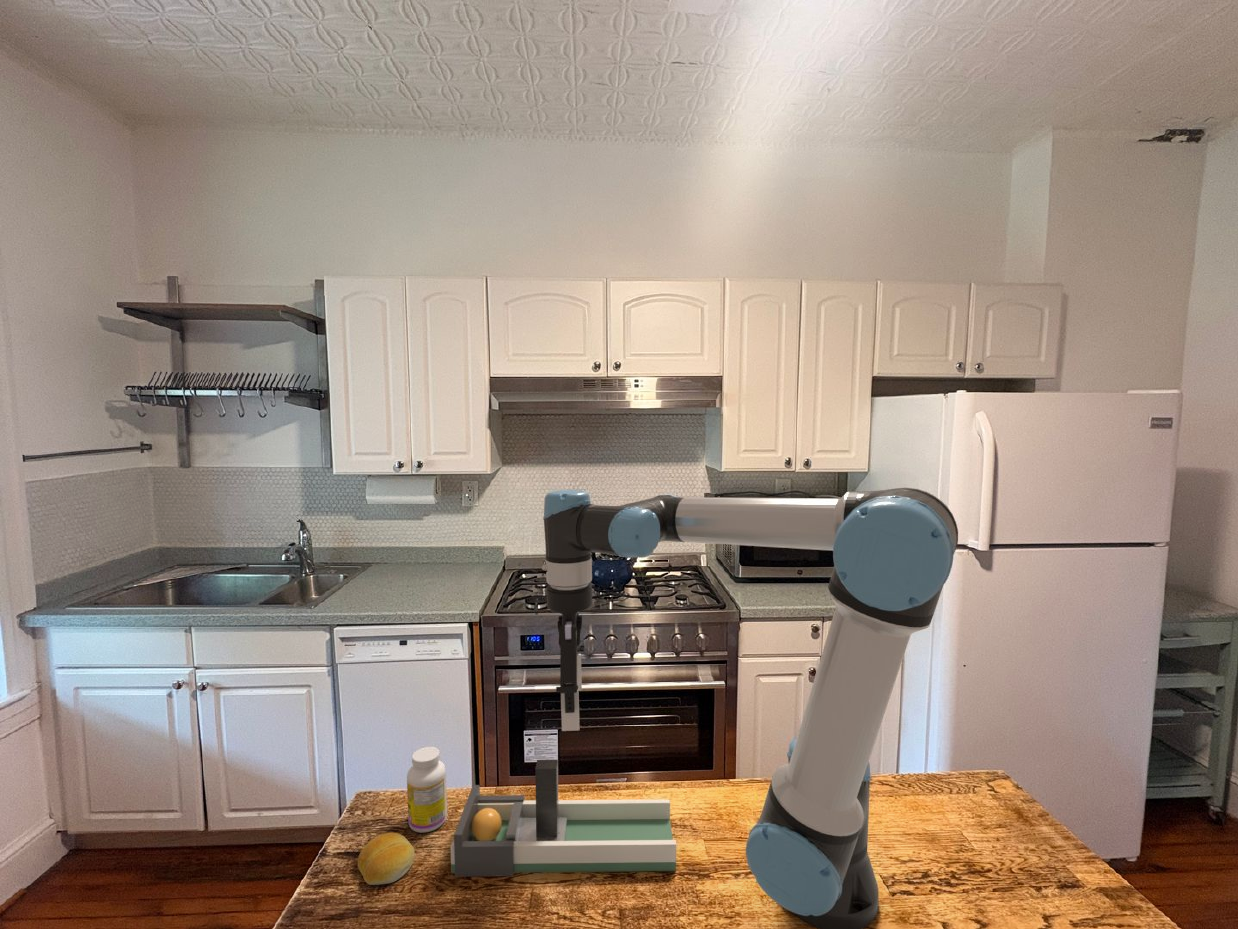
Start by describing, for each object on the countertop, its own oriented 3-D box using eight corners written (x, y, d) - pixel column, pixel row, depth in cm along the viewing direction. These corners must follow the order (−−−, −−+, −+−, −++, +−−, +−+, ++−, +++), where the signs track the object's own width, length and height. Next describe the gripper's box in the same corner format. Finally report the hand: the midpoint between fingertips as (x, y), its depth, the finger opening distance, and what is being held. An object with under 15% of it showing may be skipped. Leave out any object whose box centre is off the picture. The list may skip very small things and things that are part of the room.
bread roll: (371, 897, 88) (370, 872, 88) (352, 863, 95) (351, 840, 95) (424, 869, 94) (423, 846, 93) (402, 839, 100) (402, 817, 100)
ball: (495, 841, 100) (512, 819, 99) (479, 855, 95) (497, 832, 95) (475, 818, 101) (492, 796, 101) (459, 831, 97) (477, 808, 96)
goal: (524, 821, 104) (524, 784, 104) (513, 876, 92) (512, 834, 92) (473, 822, 104) (472, 785, 104) (455, 876, 92) (454, 835, 91)
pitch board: (669, 823, 104) (669, 799, 104) (676, 871, 93) (676, 844, 93) (468, 825, 104) (467, 801, 103) (451, 873, 93) (450, 846, 92)
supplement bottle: (415, 809, 108) (413, 743, 107) (451, 808, 108) (449, 742, 107) (403, 835, 101) (400, 765, 100) (441, 834, 101) (439, 764, 100)
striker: (567, 821, 102) (566, 750, 101) (563, 855, 94) (562, 779, 93) (514, 821, 102) (513, 750, 101) (506, 855, 94) (505, 779, 93)
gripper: (552, 566, 108) (555, 677, 110) (538, 608, 83) (543, 751, 85) (592, 565, 108) (595, 675, 110) (591, 606, 83) (594, 748, 85)
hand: (572, 708), depth 97 cm, fingers open, 13 cm apart
